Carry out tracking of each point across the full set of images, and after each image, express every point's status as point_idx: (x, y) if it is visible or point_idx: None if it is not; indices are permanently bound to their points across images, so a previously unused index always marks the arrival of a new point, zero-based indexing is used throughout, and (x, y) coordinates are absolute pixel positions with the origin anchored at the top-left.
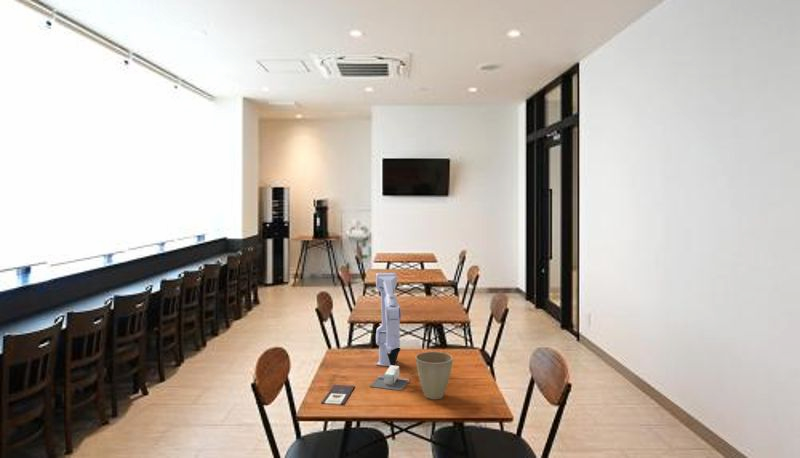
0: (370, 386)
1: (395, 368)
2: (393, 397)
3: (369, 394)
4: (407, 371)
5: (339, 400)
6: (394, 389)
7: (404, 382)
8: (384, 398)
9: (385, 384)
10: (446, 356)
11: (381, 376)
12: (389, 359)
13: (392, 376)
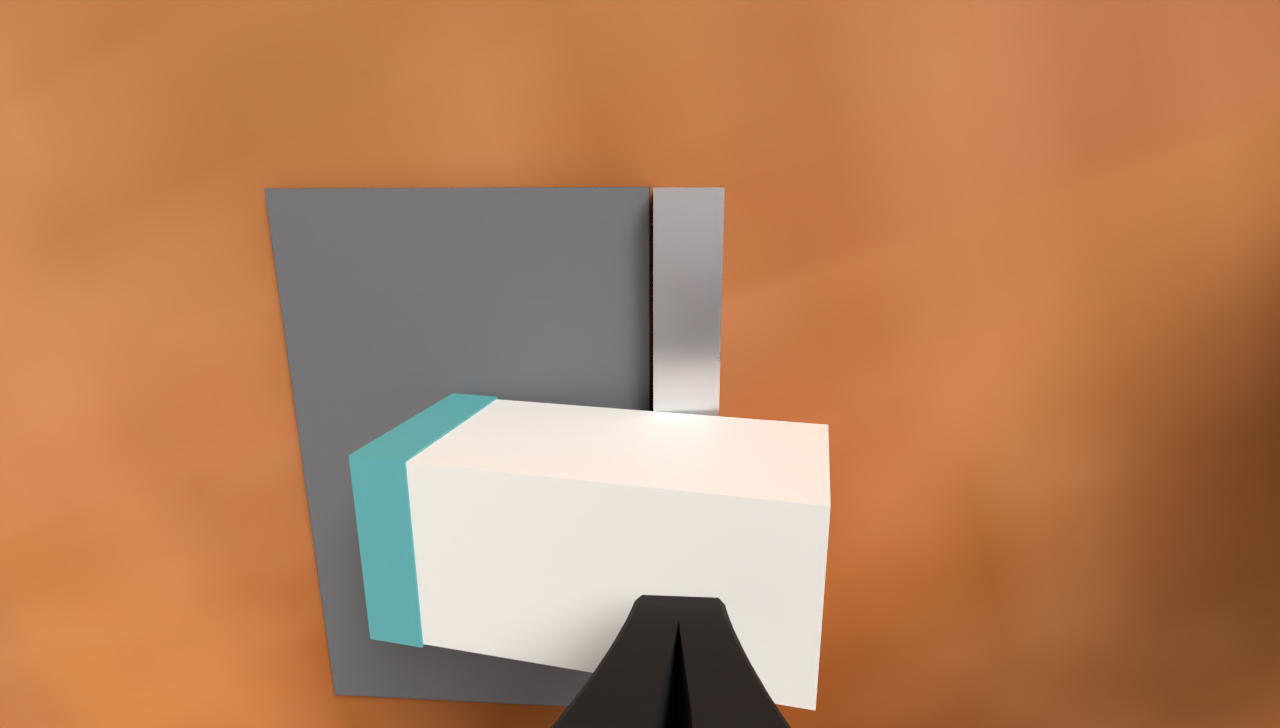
0: (269, 199)
1: None
2: (94, 642)
3: (9, 296)
4: (1195, 588)
5: None
6: (325, 597)
7: None
8: (5, 545)
9: None
10: None
11: (687, 266)
12: (581, 702)
13: (371, 632)
